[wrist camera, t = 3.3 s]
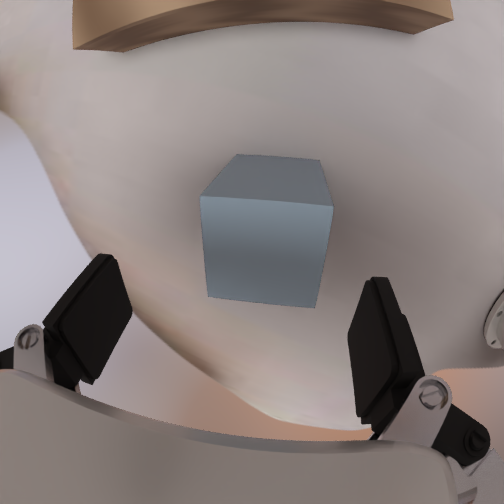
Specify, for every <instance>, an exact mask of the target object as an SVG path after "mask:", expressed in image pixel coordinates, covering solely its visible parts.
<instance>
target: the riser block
mask: <svg viewBox="0 0 504 504" xmlns="http://www.w3.org/2000/svg"><path fill="white" fill-rule="evenodd" d="M452 20H454V18H453V12H452V7H451V2H450V0H73V17H72V33H73V49H76V50H101V51H114V52H126V51H129V50H132V49H135V48H138V47H141V46H144V45H147V44H151V43H154V42H157V41H161V40H165V39H168V38H172V37H176V36H181V35H185V34H189V33H194V32H199V31H204V30H210V29H216V28H222V27H229V26H237V25H245V24H256V23H270V22H331V23H345V24H355V25H364V26H371V27H378V28H384V29H390V30H395V31H400V32H405V33H409V34H416V33H419V32H421V31H424V30H427V29H429V28H432V27H435V26H438V25H440V24H443V23H446V22H449V21H452Z"/></svg>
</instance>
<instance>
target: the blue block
mask: <svg viewBox="0 0 504 504" xmlns="http://www.w3.org/2000/svg"><path fill="white" fill-rule="evenodd" d="M333 209H334V205H333V202H332V199H331V195H330V192H329V189H328V186H327V182H326V179H325V176H324V173H323V170H322V167H321V164H320V161H319V160H312V159H302V158H291V157H278V156H262V155H242V154H237V155H236V156H235V157H234V158H233V159H232V160H231V161H230V162H229V163H228V164H227V166H226V167H225V168H224V169H223V170H222V171H221V172H220V173H219V174H218V176H217V177H216V178H215V179H214V180H213V181H212V182H211V183H210V185H209V186H208V187H207V188H206V189H205V190H204V192H203V193H202V194H201V195H200V211H201V225H202V238H203V250H204V261H205V272H206V282H207V292H208V297H214V298H222V299H230V300H238V301H247V302H255V303H265V304H274V305H284V306H295V307H306V308H315V305H316V301H317V296H318V291H319V287H320V282H321V277H322V272H323V267H324V262H325V256H326V251H327V245H328V240H329V234H330V228H331V222H332V215H333Z"/></svg>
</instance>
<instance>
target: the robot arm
mask: <svg viewBox="0 0 504 504" xmlns="http://www.w3.org/2000/svg"><path fill="white" fill-rule="evenodd" d="M131 316H132V306H131V303H130V300H129V297H128V294H127V291H126V288H125V285H124V282H123V279H122V275H121V272H120V269H119V265H118V262H117V260H116V259H114V257H113V255H110V254H98V255H97V256H96V257H95V258H94V259H93V260H92V261H91V262H90V264H89V265H88V266H87V267H86V268H85V269H84V271H83V272H82V273H81V274H80V275H79V276H78V277H77V279H76V280H75V281H74V282H73V283H72V285H71V286H70V287H69V288H68V289H67V291H66V292H65V293H64V294H63V296H62V297H61V298H60V299H59V301H58V302H57V303H56V305H55V306H54V307H53V308H52V310H51V311H50V312H49V314H48V315H47V316H46V318H45V319H44V320H43V322H42V323H43V324H44V326H45V328H44V329H42V328H41V327H40V326H38V325H34V324H32V325H28V326H26V327H24V328H23V329H22V330H20V332H19V333H18V334H17V336H16V338H15V342H14V346H13V347H11V348H9V349H6V350H4V351H1V352H0V504H504V462H503V460H502V459H501V457H500V456H499V455H498V453H497V452H496V450H495V449H494V448H493V449H492V450H490V448H489V447H490V436H489V433H488V431H487V429H486V428H485V427H484V426H483V425H482V424H480V423H479V422H477V421H476V420H474V419H473V418H472V417H470V416H469V415H467V414H466V413H465V412H463V411H462V410H460V409H459V408H457V407H456V406H454V405H453V404H452V403H451V402H452V392H451V389H450V387H449V385H448V384H447V383H446V382H445V381H444V380H443V379H441V378H439V377H437V376H433V375H428V376H425V373H424V370H423V366H422V363H421V360H420V356H419V353H418V350H417V347H416V344H415V341H414V338H413V335H412V332H411V329H410V326H409V323H408V321H407V318H406V316H405V315H404V314H402V313H401V310H400V308H399V305H398V302H397V300H396V297H395V294H394V292H393V289H392V287H391V284H390V282H389V280H388V278H386V277H372V278H371V279H370V280H367V281H366V282H365V285H364V288H363V291H362V294H361V297H360V300H359V303H358V306H357V309H356V312H355V314H354V317H353V320H352V323H351V325H350V328H349V331H348V346H349V353H350V361H351V369H352V377H353V386H354V395H355V405H356V415H357V417H361V424H371V428H372V431H373V433H372V434H371V435H370V437H369V438H368V439H367V440H364V441H293V440H275V439H262V438H252V437H244V436H236V435H229V434H221V433H216V432H210V431H204V430H198V429H193V428H189V427H184V426H180V425H175V424H171V423H167V422H163V421H159V420H155V419H152V418H148V417H144V416H141V415H138V414H134V413H131V412H128V411H125V410H122V409H119V408H116V407H113V406H110V405H107V404H104V403H102V402H99V401H96V400H94V399H91V398H88V397H86V396H83V395H81V392H80V388H79V381H80V379H81V380H82V381H83V382H85V383H88V384H91V385H93V383H94V381H95V379H98V378H99V376H100V375H101V372H102V370H103V369H104V367H105V365H106V363H107V361H108V359H109V357H110V355H111V353H112V351H113V349H114V347H115V345H116V344H117V342H118V340H119V338H120V336H121V334H122V333H123V331H124V329H125V327H126V325H127V324H128V322H129V320H130V318H131ZM484 337H485V339H486V342H487V344H488V345H489V346H490V347H492V348H497V349H499V348H503V350H504V292H503V293H502V294H501V296H500V297H499V299H498V300H497V301H496V303H495V305H494V306H493V308H492V309H491V311H490V313H489V315H488V317H487V320H486V323H485V327H484Z"/></svg>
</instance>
